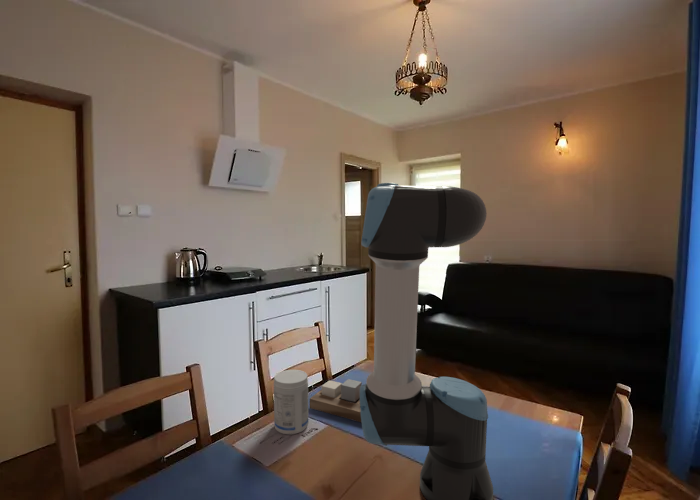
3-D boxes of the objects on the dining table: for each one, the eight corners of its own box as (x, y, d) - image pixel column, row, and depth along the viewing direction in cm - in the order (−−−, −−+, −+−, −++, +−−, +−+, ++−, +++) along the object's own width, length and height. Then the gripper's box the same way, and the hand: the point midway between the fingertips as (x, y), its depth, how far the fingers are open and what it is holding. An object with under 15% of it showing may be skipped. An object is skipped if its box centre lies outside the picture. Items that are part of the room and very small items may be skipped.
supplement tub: (297, 413, 109) (297, 366, 108) (315, 427, 102) (315, 376, 101) (267, 424, 103) (267, 374, 102) (284, 440, 96) (284, 386, 95)
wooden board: (375, 426, 103) (375, 415, 103) (309, 408, 113) (309, 398, 112) (391, 404, 115) (392, 395, 115) (331, 389, 125) (331, 381, 125)
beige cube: (334, 402, 114) (334, 389, 114) (321, 399, 116) (321, 385, 116) (341, 396, 118) (342, 383, 118) (329, 393, 120) (329, 380, 120)
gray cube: (354, 402, 111) (355, 388, 110) (341, 398, 113) (341, 384, 112) (361, 395, 115) (361, 382, 115) (347, 392, 117) (348, 379, 117)
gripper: (391, 231, 111) (390, 307, 113) (404, 231, 123) (402, 300, 124) (369, 231, 114) (368, 305, 116) (383, 231, 126) (382, 298, 127)
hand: (385, 302), depth 120 cm, fingers closed
